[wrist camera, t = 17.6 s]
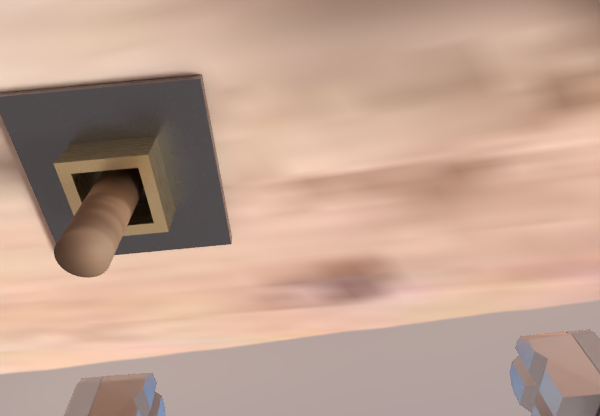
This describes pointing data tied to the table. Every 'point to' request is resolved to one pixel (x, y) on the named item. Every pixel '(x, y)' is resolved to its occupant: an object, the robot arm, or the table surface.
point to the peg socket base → (125, 156)
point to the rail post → (99, 223)
